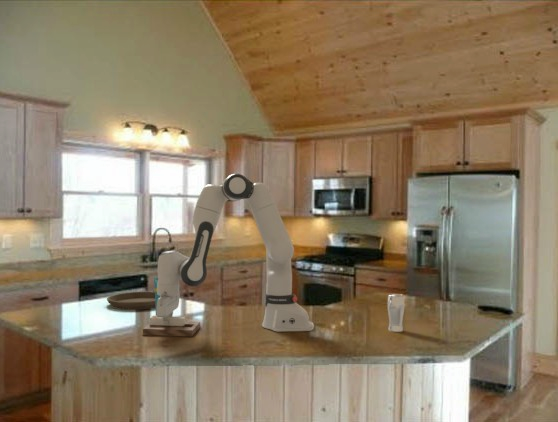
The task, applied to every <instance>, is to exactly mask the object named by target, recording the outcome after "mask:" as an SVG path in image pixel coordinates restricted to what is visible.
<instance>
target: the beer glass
mask: <svg viewBox="0 0 558 422" xmlns="http://www.w3.org/2000/svg"><path fill="white" fill-rule="evenodd" d="M404 313H405V295H403V294H401V293H391V294H388V296H387V314H388V319H389V320H388V321H389V324H388V328H387V329H388V331H389V332H392V333H402V332H403V330H404V329H403V328H404V327H403V318H404Z"/></svg>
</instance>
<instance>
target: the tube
mask: <svg viewBox="0 0 558 422" xmlns="http://www.w3.org/2000/svg"><path fill="white" fill-rule="evenodd" d="M153 282H154V292H155V305H156V307H155V312H156V311H157V301H158V298H160V296H159V295H157V282H158V277H154V278H153ZM155 316H157V315H156V314H155Z"/></svg>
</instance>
